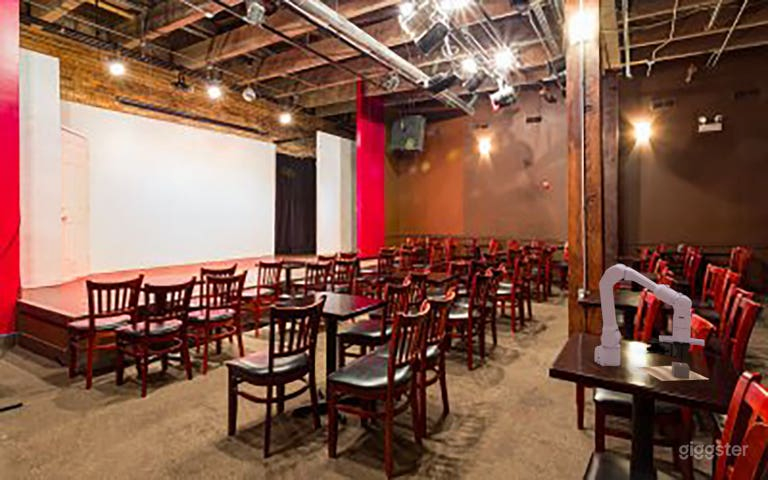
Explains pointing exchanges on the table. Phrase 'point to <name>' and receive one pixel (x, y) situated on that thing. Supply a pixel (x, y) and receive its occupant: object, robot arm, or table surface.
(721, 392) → the table surface
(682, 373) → the grey cube
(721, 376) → the table surface
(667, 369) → the board
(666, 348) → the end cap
